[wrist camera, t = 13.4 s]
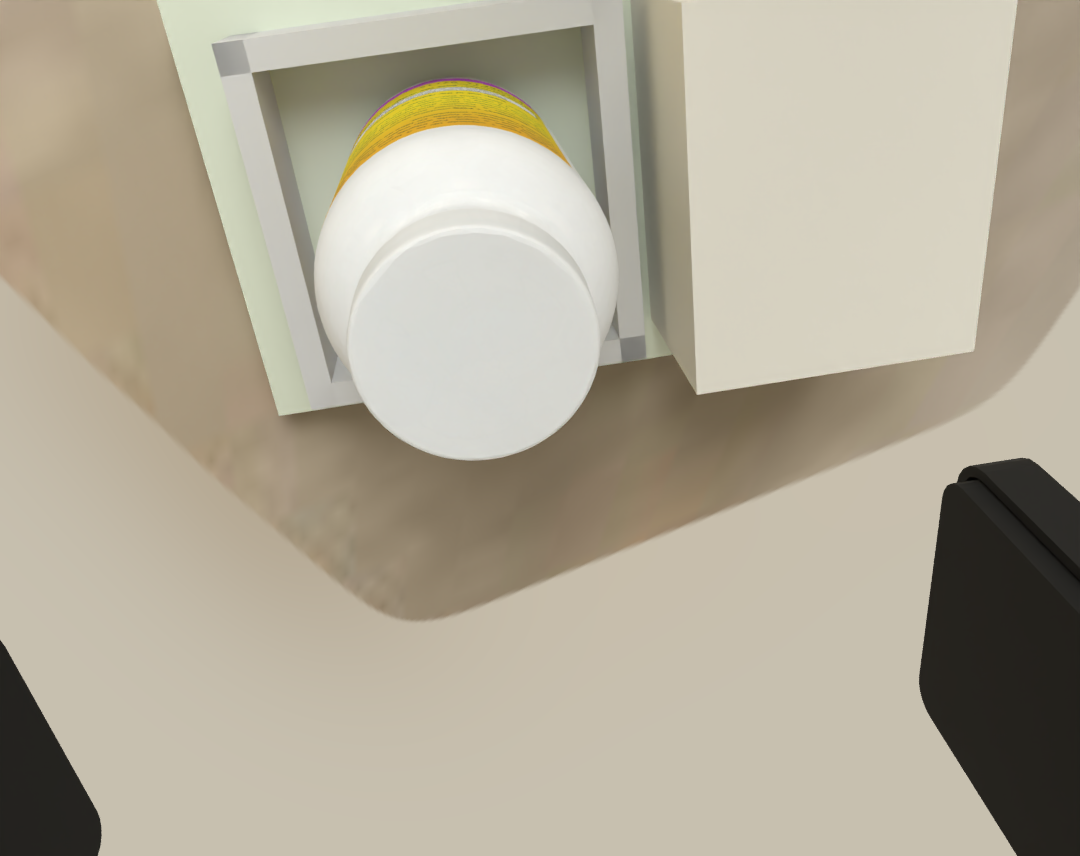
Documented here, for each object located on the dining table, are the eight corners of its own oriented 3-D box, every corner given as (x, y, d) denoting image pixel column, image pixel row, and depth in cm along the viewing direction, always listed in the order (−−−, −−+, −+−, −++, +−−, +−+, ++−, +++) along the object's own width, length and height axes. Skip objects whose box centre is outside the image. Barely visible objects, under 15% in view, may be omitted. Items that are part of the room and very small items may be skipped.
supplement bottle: (304, 141, 26) (207, 277, 15) (502, 30, 26) (556, 86, 14) (419, 327, 30) (410, 556, 18) (599, 233, 29) (708, 412, 17)
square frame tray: (915, -108, 26) (1076, -128, 20) (886, 303, 33) (1001, 393, 26) (169, -6, 26) (79, 9, 19) (285, 396, 32) (247, 512, 25)
